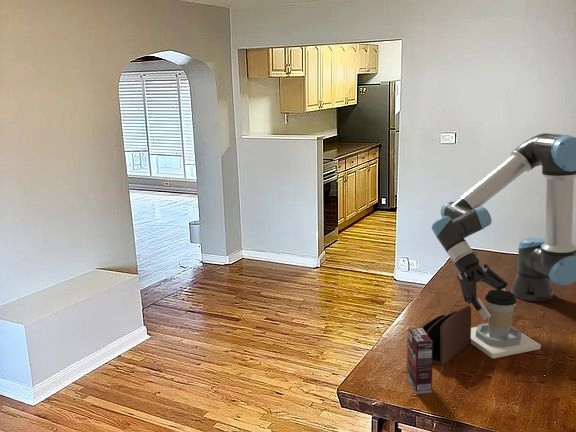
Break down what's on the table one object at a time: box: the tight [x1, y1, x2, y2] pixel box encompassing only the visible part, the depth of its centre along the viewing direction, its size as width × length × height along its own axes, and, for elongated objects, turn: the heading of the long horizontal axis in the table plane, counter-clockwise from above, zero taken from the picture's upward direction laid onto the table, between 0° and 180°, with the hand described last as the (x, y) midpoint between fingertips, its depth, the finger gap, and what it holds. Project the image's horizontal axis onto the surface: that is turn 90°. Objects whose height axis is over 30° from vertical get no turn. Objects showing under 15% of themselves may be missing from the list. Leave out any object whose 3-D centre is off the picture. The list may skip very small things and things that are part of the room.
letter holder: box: [420, 305, 472, 366], centre depth 169 cm, size 10×20×14 cm, turn 136°
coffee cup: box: [484, 289, 517, 340], centre depth 173 cm, size 9×9×15 cm
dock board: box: [470, 322, 542, 359], centre depth 174 cm, size 18×18×4 cm
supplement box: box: [406, 327, 433, 395], centre depth 149 cm, size 9×5×16 cm, turn 5°
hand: (500, 312), depth 172 cm, fingers open, 13 cm apart
